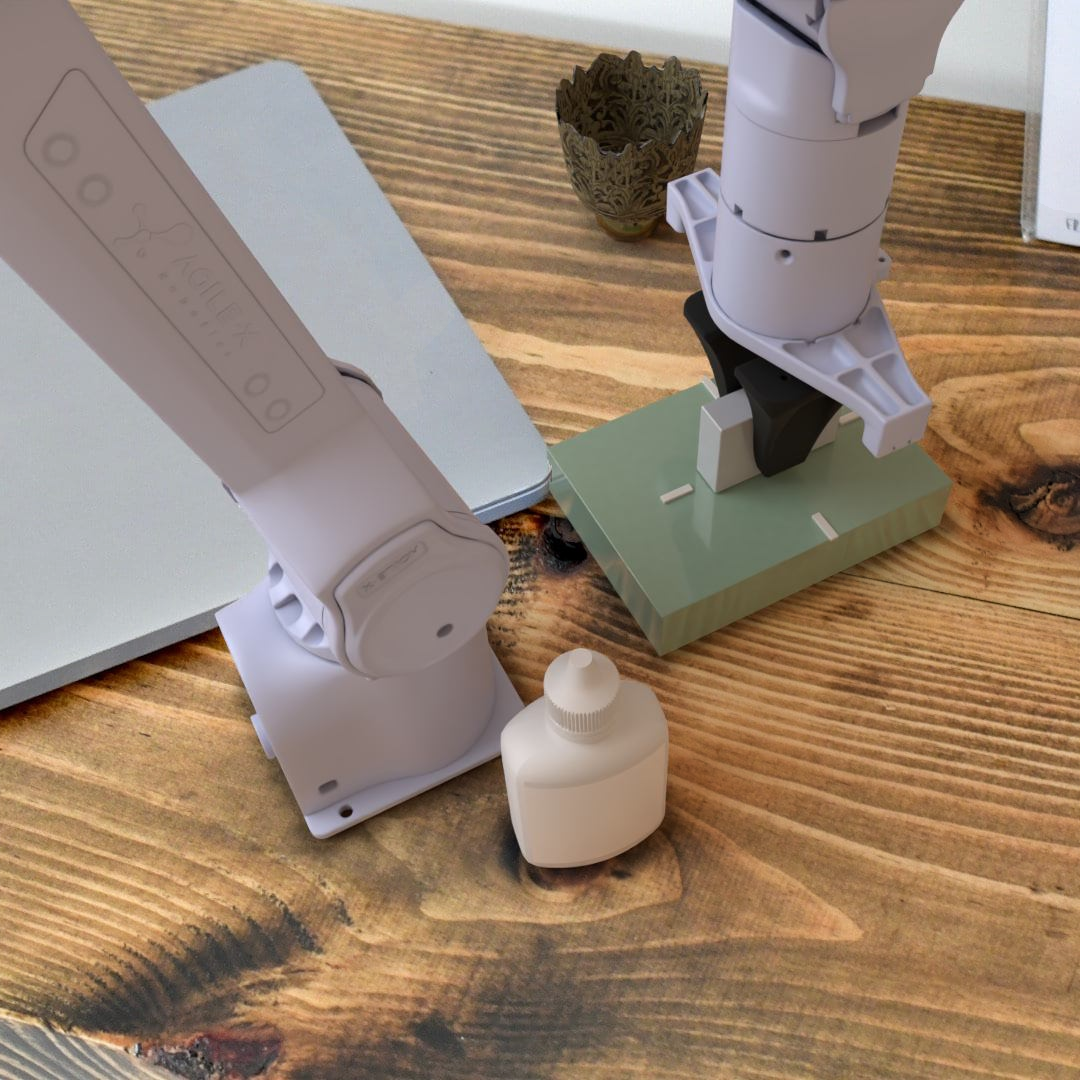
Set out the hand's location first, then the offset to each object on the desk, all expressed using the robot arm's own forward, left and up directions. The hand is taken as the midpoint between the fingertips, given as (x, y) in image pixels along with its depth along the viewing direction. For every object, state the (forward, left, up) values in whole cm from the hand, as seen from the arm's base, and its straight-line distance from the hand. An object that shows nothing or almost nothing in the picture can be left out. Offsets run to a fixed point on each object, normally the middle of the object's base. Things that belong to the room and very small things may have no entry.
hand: (767, 446), depth 55 cm
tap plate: (-1, 0, -4) cm, 4 cm away
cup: (+4, +19, -4) cm, 20 cm away
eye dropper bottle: (-14, -10, -4) cm, 18 cm away
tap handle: (0, 0, -1) cm, 1 cm away
